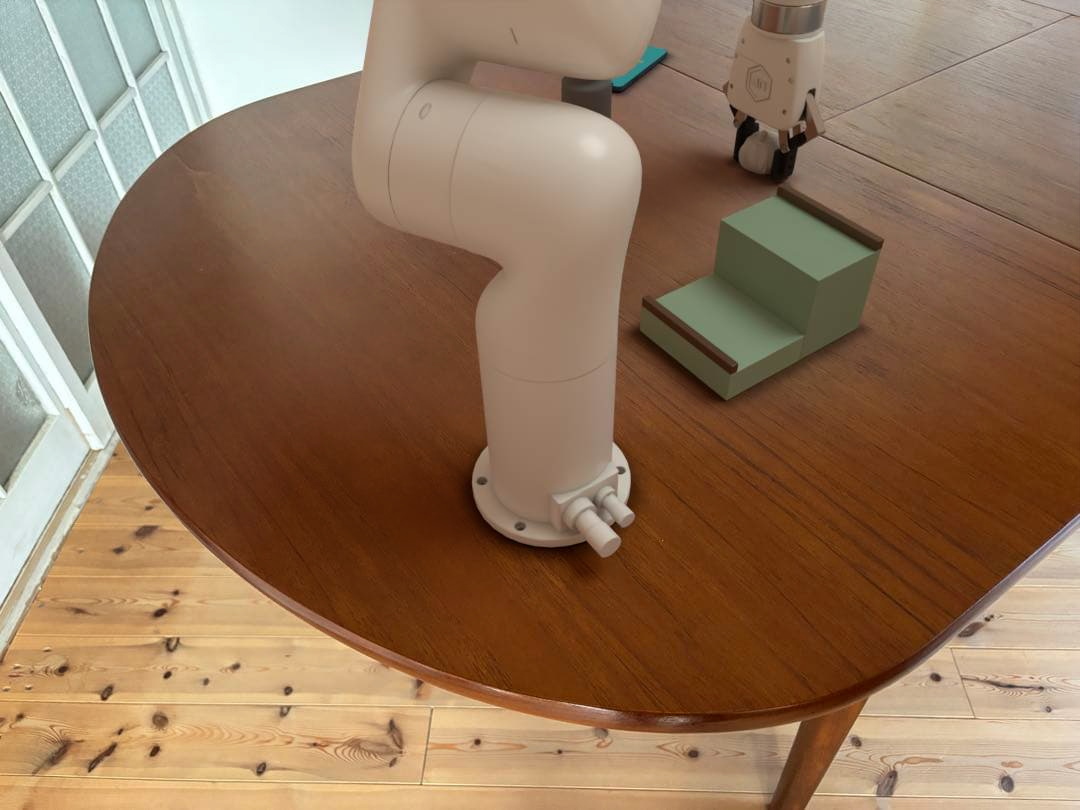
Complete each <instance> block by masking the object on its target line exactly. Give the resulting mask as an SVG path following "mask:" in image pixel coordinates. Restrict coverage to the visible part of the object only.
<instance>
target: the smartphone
mask: <svg viewBox="0 0 1080 810" xmlns="http://www.w3.org/2000/svg"><path fill="white" fill-rule="evenodd" d="M668 53H669V51H668V50H667V49H666V48H661V47H656V46H652V45H648V47H647V49H646V51H645V53H644V55H643V56H642V58H641V59H640V61H639V62H638V64H637V65H636V66H635V68H633V69H632V70H631V71H629V72H628V73H627V74H625V75H623V76H620V77H617V78H614V79H612V92H613V91H614V92H623V91H624V90H626V89H627V88H628V87H630V86H631V85H632V84H633V83H635V82H636V81H638V80H639V79H640V78H641V77H643V76H644V75H645V74H646V73H647V72H649V71H650V70H651V69H653V68H654V67H655V66H656V65H658V64H659V63H661V62H662V61H663V60H664V59H666V58H667V57H668Z"/></svg>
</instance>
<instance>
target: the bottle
mask: <svg viewBox="0 0 1080 810" xmlns="http://www.w3.org/2000/svg"><path fill="white" fill-rule="evenodd" d="M560 86H561V88H560V90H561V93H560V94H561V96H560V98H561V99H560V101H561V102H565V103H569V104H573V105H577V106H580V107H584V108H586V109H589V110H591V111H594V112H596V113H599V114H601V115H603V116H605V117H607V118H609V119H610V120H612V102H613V101H612V100H613V99H612V98H613V96H612V94H613V90H612V79H607V80H588V79H579V78H572V77H565V76H562V78H561V85H560Z"/></svg>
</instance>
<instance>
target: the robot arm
mask: <svg viewBox="0 0 1080 810" xmlns="http://www.w3.org/2000/svg"><path fill="white" fill-rule="evenodd" d="M662 4H663V0H373V3H372V10H371V15H370V21H369V27H368V34H367V35H368V36H367V40H366V47H365V52H364V58H363V65H362V72H361V77H360V85H359V91H358V97H357V104H356V110H355V116H354V122H353V123H354V125H353V133H352V140H351V141H352V142H351V172H352V173H351V174H352V180H353V185H354V189H355V192H356V194H357V197H358V199H359V202H360V204H361V205H362V206H363V207H364V209H365V210H366V212H367V213H369V215H370V216H372V217H373V219H375V220H376V221H378V222H380V223H381V224H383V225H384V226H387V227H390V228H391V229H394V230H397V231H399V232H403V233H406V234H410V235H413V236H417V237H420V238H424V239H427V240H429V241H430V240H431V241H434V242H438V243H441V244H445V245H448V246H452V247H456V248H459V249H462V250H465V251H466V252H469V253H472V254H475V255H478V256H482V257H484V258H487V259H490V260H492V261H494V262H496V263H497V264H498V265H499V266H501V267H502V269H500V270H499V271H498V272H497V273H496V274H495V276H494V277H492V279H491V280H490V281H489V283H487V285H486V286H485V288H484V289H483V291H482V293H481V295H480V297H479V299H478V302H477V305H476V310H475V316H474V317H475V319H474V323H475V324H474V325H475V326H474V327H475V338H476V339H475V340H476V345H477V354H478V365H479V374H480V384H481V393H482V403H483V412H484V413H483V414H484V421H485V431H486V441H487V445H486V447H485V448H484V449H483V450H482V451H481V452H480V455H479V456H478V458H477V460H476V462H475V464H474V468H473V470H472V476H471V478H472V479H471V486H472V495H473V499H474V502H475V505H476V509H477V510H478V512H479V513H480V515H481V516H482V518H483V520H484V521H486V523H487V524H489V526H491V528H493V529H494V530H495V531H497V532H498V533H499V534H501V535H503V536H504V537H506V538H508V539H510V540H514V541H515V542H518V543H520V544H525V545H529V546H533V547H540V548H541V547H543V548H558V547H559V548H560V547H568V546H572V545H577V544H580V543H581V544H582V543H584V542H587V544H589V545H590V546H591V548H592V549H593V550H594V551H595V552H596V553H597V554H598V555H599V557H601V558H603V559H604V558H608V557H610V556H612V555H613V554H615V553H616V552H617V551H618V549H619V548H620V547H621V543H622V539H621V537H620V536H619V535H618V534H617V533H616V531H614V530H613V529H612V527H611V526H612V525H613V524H615V522H616V524H617V525H619V526H620V528H623V529H624V528H627V527H629V526H630V525H631V524H632V523H633V522H634V520H635V518H636V515H635V513H634V512H633V510H631V509H630V507H628V505H627V504H628V501H629V499H630V494H631V493H630V492H631V484H632V483H631V482H632V481H631V478H632V477H631V469H630V467H629V463H628V460H627V459H626V457H625V454H624V453H623V451H622V450H621V449H620V448H619V446H618V445H617V444H616V443H615V442H614V426H615V403H616V402H615V401H616V382H617V360H618V359H617V358H618V334H619V333H618V332H619V311H620V301H621V289H622V281H623V273H624V268H625V262H626V257H627V252H628V247H629V245H630V244H629V243H630V239H631V235H632V230H633V226H634V223H635V219H636V215H637V211H638V207H639V202H640V197H641V192H642V183H643V181H642V180H643V163H642V159H641V155H640V150H639V149H638V147H637V144H636V143H635V142H634V140H633V138H632V137H631V136H630V134H629V133H628V131H626V130H625V129H624V128H623V127H622V126H621V125H619V124H618V123H616V122H615V121H614V120H612V119H611V120H610V119H609V118H607V117H605V116H603V115H601V114H599V113H596V112H594V111H591V110H589V109H586V108H584V107H580V106H577V105H573V104H569V103H565V102H561V100H556V99H552V98H547V97H541V96H537V95H532V94H527V93H522V92H518V91H512V90H507V89H506V90H505V89H497V88H493V87H487V86H483V85H478V84H473V83H471V81H472V77H473V74H474V71H475V70H476V67H477V64H478V63H479V62H483V63H484V62H485V63H489V64H495V65H501V66H506V67H510V68H517V69H522V70H527V71H533V72H538V73H542V74H549V75H553V76H561V77H564V76H565V77H572V78H579V79H588V80H607V79H614V78H617V77H620V76H623V75H625V74H627V73H628V72H629V71H631V70H632V69H633V68H635V66H636V65H637V64H638V62H639V61H640V59H641V58H642V56H643V55H644V53H645V51H646V49H647V47H648V46H649V44H650V42H651V39H652V36H653V33H654V30H655V27H656V25H657V21H658V18H659V14H660V11H661V7H662ZM827 5H828V0H752V8H751V15H748V16H747V17H746V18H745V19H744V22H743V24H742V26H741V30H740V33H739V36H738V39H737V42H736V45H735V50H734V54H733V58H732V62H731V63H732V64H731V68H730V73H729V80H728V81H726V82H725V83H724V84H723V85H722V91H723V93H724V95H725V97H726V99H727V101H728V103H729V104H728V106H729V110H730V111H731V113H732V116H733V121H732V125H733V127H734V128H735V129H736V131H735V133H736V134H735V139H734V140H735V141H734V147H733V152H732V153H733V154H732V160H733V161H735V162H739V151H740V149H741V147H742V146H743V144H744V142H745V140H746V139H747V138H748V137H749V136H751V135H752V134H753V133H755V132H758V131H760V123H759V122H761V123H763V124H764V125H767V126H768V127H770V128H773V129H775V130H777V134H778V135H779V147H780V148H779V149H777V150H775V152H774V157H773V162H772V168H771V173H770V174H769V181H770V182H772V183H774V184H775V183H778V182H780V181H782V180H784V179H786V178H790V177H791V176H792V175H793V173H794V170H795V165H796V161H797V155H798V150H799V148H801V147H803V146H804V145H805V144H807V143H810V142H811V141H813V140H815V139H817V138H818V137H821V136H823V135H824V134H826V129H827V128H826V125H825V123H824V120H823V118H822V115H821V113H820V110H819V107H818V106H819V102H820V97H821V91H822V85H823V79H824V71H825V70H824V69H825V58H826V31H825V30H823V26H824V25H823V24H824V19H825V15H826V10H827ZM757 121H759V122H757ZM804 122H805V126H806V128H805V129H804ZM790 130H792V131H791V132H792V137H791V133H790Z"/></svg>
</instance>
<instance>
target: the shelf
mask: <svg viewBox="0 0 1080 810" xmlns="http://www.w3.org/2000/svg"><path fill="white" fill-rule="evenodd" d="M884 242H885V238H883V237H881V236H879V235H878V234H877V233H874V232H872V231H871V230H869V229H867V228H866V227H864V226H861V225H860V224H858V223H856V222H855V221H853V220H851V219H849V218H848V217H846V216H844V215H843V214H840V213H838V212H837V211H835V210H833V209H831V208H829V207H828V206H826V205H824V204H823V203H820V202H819V201H817V200H815V199H814V198H812V197H810V196H808V195H806V194H805V193H802V192H801V191H799V190H797V189H796V188H794V187H792V186H791V185H788V184H787V183H785V182H782V183H780V184H779V185H777V189H776V194H775V195H773V196H771V197H768V198H766V199H764V200H762V201H758V202H757V203H754V204H753V205H750V206H748V207H746V208H743V209H741V210H739V211H737V212H734V213H732V214H729V215H728V216H725V217H723V218H721V219H720V221H719V228H718V238H717V243H716V251H715V258H714V259H715V260H714V265H713V272H711V273H709V274H707V275H705V276H703V277H700V278H697V279H696V280H694V281H692V282H689V283H687V284H686V285H684V286H681V287H679V288H677V289H675V290H673V291H670V292H668V293H667V294H664V295H662V296H659V297H657V298H656V299H655V298H654V297H653V296H651V295H650V294H647V295H644V296H643V297H642V299H641V309H640V323H639V324H640V325H639V331H640V332H641V333H642V334H643V335H645V336H646V337H647V338H648V339H650V340H651V341H652V342H653V343H655V345H657V346H658V347H660V348H661V349H663V351H665V352H666V353H667V354H668V355H670V356H671V357H672V358H673V359H674V360H675V361H676V362H678V363H679V364H681V366H683V367H684V368H685V369H687V370H688V371H689V372H690V373H692V374H693V375H694V376H695V377H697V378H698V379H699V380H700V381H701V382H703V383H704V384H705V385H706V386H707V387H709V388H710V389H711V390H713V391H714V392H715V393H716V394H718V395H719V396H720V397H721V398H722V399H723V400H725V401H728V400H730V399H732V398H734V397H736V396H737V395H740V394H741V393H743V392H745V391H746V390H748V389H750V388H752V387H754V386H755V385H757V384H759V383H761V382H763V381H765V380H766V379H769V378H770V377H772V376H774V375H776V374H777V373H779V372H781V371H783V370H785V369H787V368H788V367H790V366H792V365H794V364H795V363H797V362H799V361H800V360H802V359H804V358H806V357H809V356H810V355H811V354H813V353H815V352H817V351H819V350H820V349H823V348H824V347H826V346H828V345H830V344H831V343H833V342H835V341H837V340H839V339H840V338H842V337H844V336H845V335H847V334H849V333H852V332H853V331H855V330H857V329H858V328H859V326H860V323H861V319H862V316H863V312H864V308H865V307H866V302H867V300H868V295H869V293H870V289H871V286H872V282H873V279H874V275H875V272H876V269H877V266H878V262H879V259H880V255H881V252H882V248H883V245H884Z"/></svg>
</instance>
